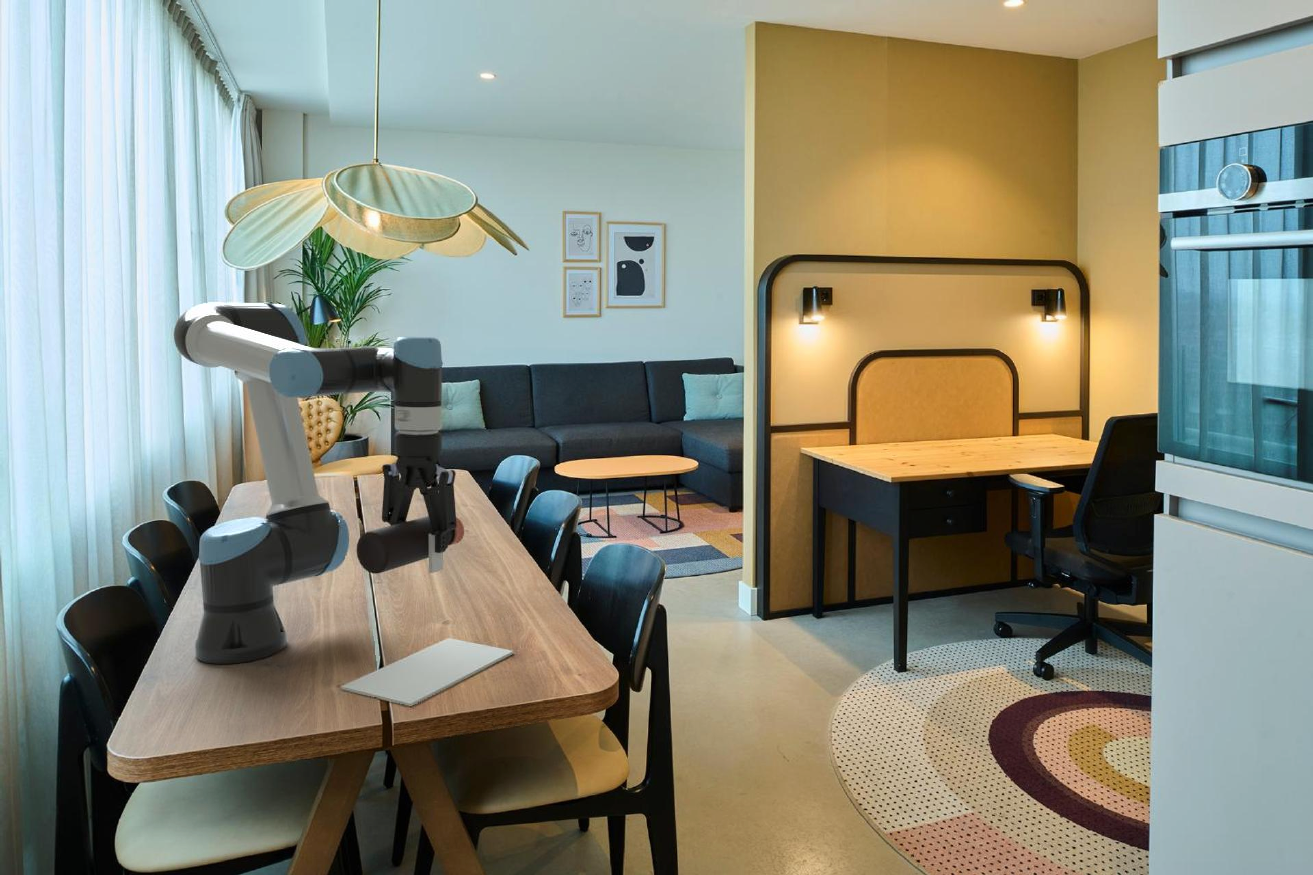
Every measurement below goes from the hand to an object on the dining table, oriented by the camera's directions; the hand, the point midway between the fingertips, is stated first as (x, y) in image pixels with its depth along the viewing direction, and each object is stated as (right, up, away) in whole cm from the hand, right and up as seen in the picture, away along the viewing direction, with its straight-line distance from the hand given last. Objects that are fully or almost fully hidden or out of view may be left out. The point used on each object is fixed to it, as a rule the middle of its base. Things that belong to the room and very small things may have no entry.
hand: (418, 567), depth 155 cm
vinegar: (-5, +4, -10) cm, 12 cm away
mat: (+1, -18, +3) cm, 18 cm away
